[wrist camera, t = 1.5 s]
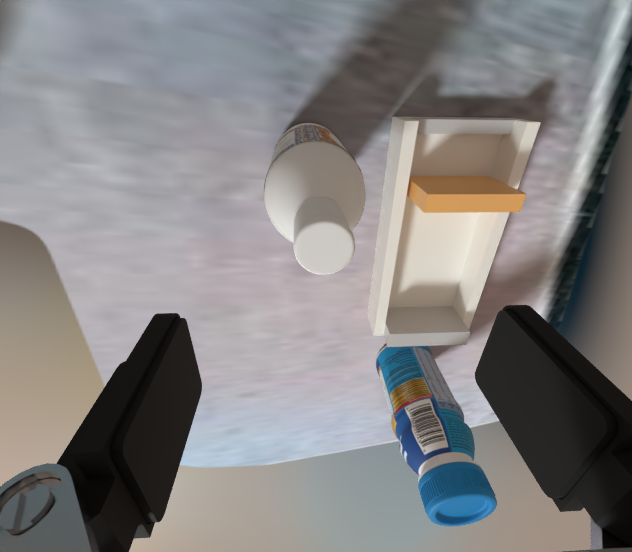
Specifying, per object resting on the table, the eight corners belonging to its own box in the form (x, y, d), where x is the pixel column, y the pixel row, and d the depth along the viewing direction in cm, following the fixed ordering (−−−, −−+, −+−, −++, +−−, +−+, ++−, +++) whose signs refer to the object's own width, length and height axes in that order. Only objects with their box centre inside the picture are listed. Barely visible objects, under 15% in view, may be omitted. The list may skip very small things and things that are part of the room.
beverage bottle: (439, 339, 46) (525, 491, 29) (417, 379, 50) (481, 532, 33) (384, 332, 44) (441, 487, 27) (366, 373, 49) (406, 530, 32)
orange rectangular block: (405, 175, 32) (427, 194, 27) (488, 175, 32) (526, 194, 27) (403, 191, 33) (424, 212, 27) (483, 191, 33) (519, 212, 28)
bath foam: (354, 171, 33) (420, 268, 16) (297, 206, 34) (301, 329, 17) (320, 106, 29) (357, 139, 12) (259, 148, 31) (217, 228, 14)
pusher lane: (392, 116, 30) (412, 123, 25) (513, 117, 31) (557, 124, 26) (367, 315, 43) (377, 347, 38) (454, 313, 43) (475, 344, 38)
